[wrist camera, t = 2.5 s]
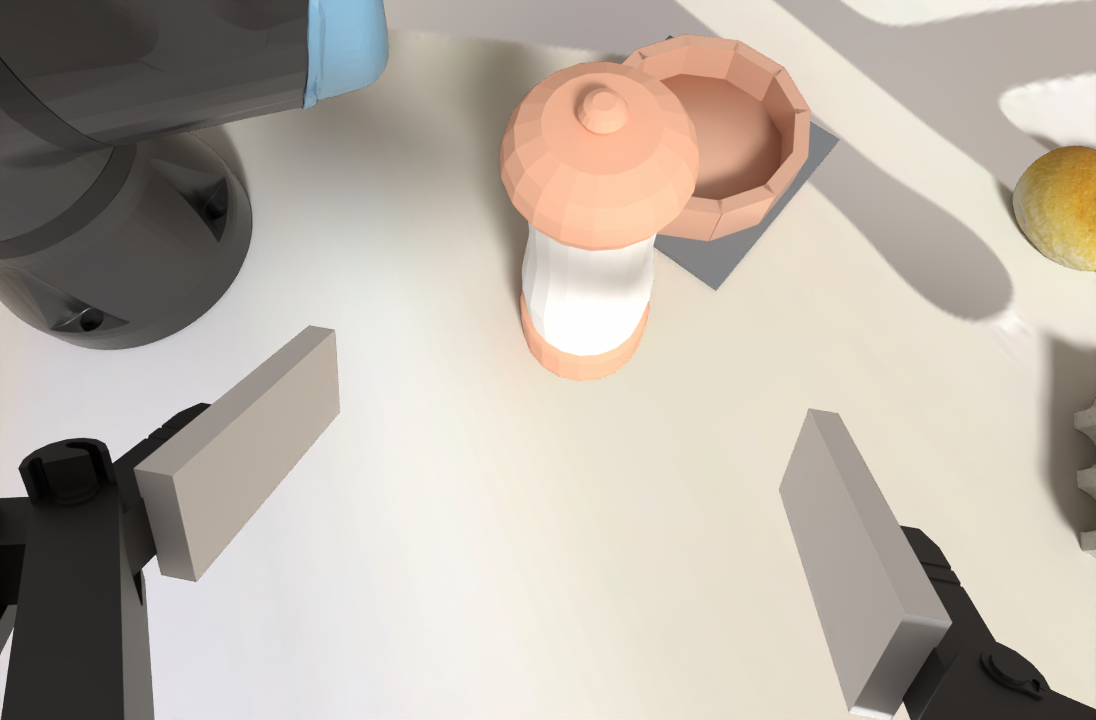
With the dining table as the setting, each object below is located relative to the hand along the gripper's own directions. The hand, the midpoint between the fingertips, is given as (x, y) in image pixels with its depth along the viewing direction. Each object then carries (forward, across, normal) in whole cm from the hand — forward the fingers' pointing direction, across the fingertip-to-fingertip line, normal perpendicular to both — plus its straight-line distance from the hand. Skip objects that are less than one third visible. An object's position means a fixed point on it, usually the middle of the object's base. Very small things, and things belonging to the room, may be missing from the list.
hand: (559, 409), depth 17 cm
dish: (+29, +5, +4) cm, 29 cm away
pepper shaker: (+20, 0, -6) cm, 21 cm away
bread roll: (+29, +30, +3) cm, 42 cm away
